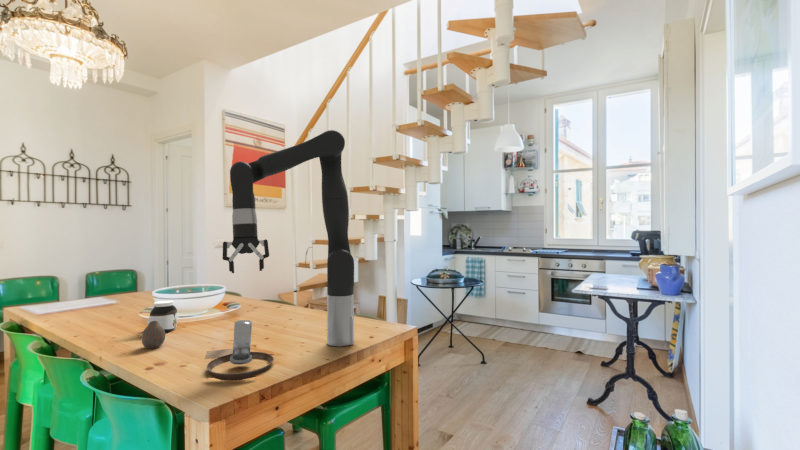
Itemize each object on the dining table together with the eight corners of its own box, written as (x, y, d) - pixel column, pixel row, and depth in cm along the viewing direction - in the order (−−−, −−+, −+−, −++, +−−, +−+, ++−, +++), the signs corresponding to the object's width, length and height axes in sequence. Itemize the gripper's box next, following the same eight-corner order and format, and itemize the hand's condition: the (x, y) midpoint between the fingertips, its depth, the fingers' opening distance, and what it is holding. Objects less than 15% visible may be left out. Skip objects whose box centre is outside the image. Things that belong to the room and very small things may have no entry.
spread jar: (165, 334, 148) (165, 304, 148) (136, 334, 148) (136, 304, 148) (183, 326, 160) (183, 298, 160) (156, 326, 160) (156, 298, 160)
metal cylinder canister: (253, 356, 113) (255, 319, 112) (249, 364, 107) (252, 325, 107) (232, 356, 112) (235, 319, 111) (227, 364, 106) (229, 325, 106)
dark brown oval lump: (169, 345, 134) (169, 320, 134) (149, 351, 127) (149, 324, 127) (156, 343, 136) (157, 318, 137) (136, 348, 130) (137, 322, 130)
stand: (233, 351, 127) (233, 348, 127) (233, 358, 119) (233, 355, 119) (207, 354, 124) (207, 351, 124) (204, 362, 116) (204, 358, 116)
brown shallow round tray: (281, 375, 107) (281, 364, 107) (211, 389, 97) (211, 377, 97) (265, 357, 122) (265, 348, 122) (202, 368, 112) (203, 358, 112)
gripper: (220, 223, 121) (222, 274, 120) (267, 221, 126) (270, 270, 126) (222, 224, 128) (224, 273, 127) (267, 222, 133) (269, 269, 133)
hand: (247, 271), depth 127 cm, fingers open, 8 cm apart
